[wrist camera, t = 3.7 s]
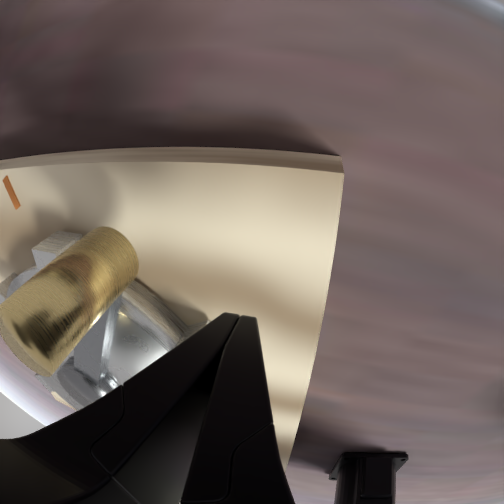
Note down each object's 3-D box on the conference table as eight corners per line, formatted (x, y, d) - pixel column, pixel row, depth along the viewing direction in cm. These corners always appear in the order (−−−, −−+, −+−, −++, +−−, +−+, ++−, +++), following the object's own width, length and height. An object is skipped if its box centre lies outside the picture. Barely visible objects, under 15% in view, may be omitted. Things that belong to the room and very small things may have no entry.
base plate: (290, 446, 24) (284, 475, 21) (69, 381, 29) (55, 400, 26) (340, 156, 13) (344, 174, 10) (-9, 161, 17) (-39, 175, 14)
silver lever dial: (235, 454, 20) (209, 532, 14) (69, 396, 23) (32, 450, 17) (224, 213, 11) (114, 354, 5) (-14, 199, 14) (-96, 252, 8)
